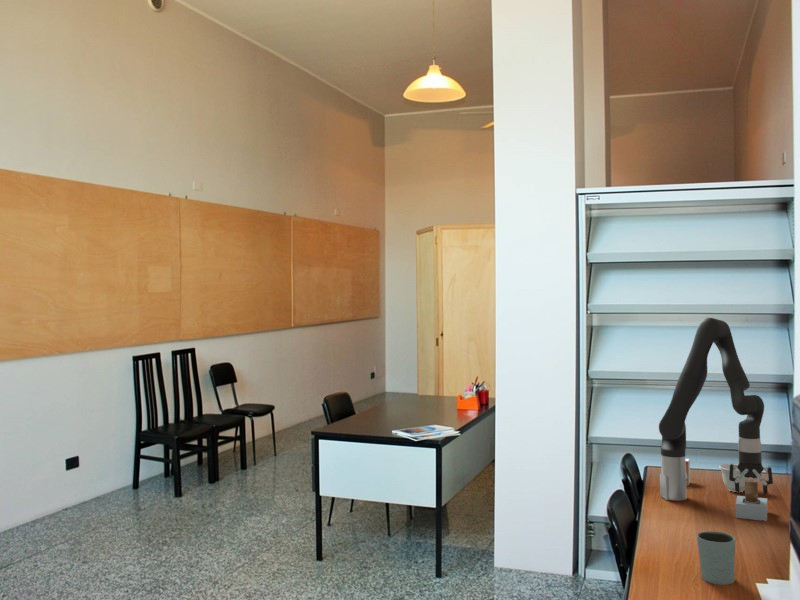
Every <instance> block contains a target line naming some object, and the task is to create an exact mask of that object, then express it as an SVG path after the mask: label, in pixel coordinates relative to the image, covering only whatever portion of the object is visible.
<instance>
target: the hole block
mask: <svg viewBox="0 0 800 600" xmlns="http://www.w3.org/2000/svg"><path fill="white" fill-rule="evenodd" d="M768 506H769V505H768V497H767V498H766V497H758V504H755V503H745V495H737V496H736V499H735V518H736V519H744V520H755V521H762V520H764V521H763V522H767V521H768V515H767V514H768V513H769V512H768V511H769V510H768Z"/></svg>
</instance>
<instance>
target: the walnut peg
mask: <svg viewBox="0 0 800 600" xmlns="http://www.w3.org/2000/svg"><path fill="white" fill-rule="evenodd" d="M758 488H759V484H758V482H757V481H756V480H753V481H749V480H748V481H745V488H744V496H745V503H755V504H758V498H759V489H758Z"/></svg>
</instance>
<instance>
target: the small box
mask: <svg viewBox="0 0 800 600" xmlns="http://www.w3.org/2000/svg"><path fill="white" fill-rule="evenodd" d="M685 459H686V486H688V485H689V486H690V484H691V469H690V467H691V465H690V463H691V462H690V461H691V459H690V458H685Z"/></svg>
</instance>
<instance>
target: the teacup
mask: <svg viewBox="0 0 800 600" xmlns="http://www.w3.org/2000/svg"><path fill="white" fill-rule="evenodd" d="M730 464H731V463H722V464H720V465H719V466H718V467H719V469H720V470H721V474H722V480H723V485H724V486H725V487H726V488H728V490H729V491H728V492H730V491H732V492H731V493H734V492H737V491H735V482H733V481H730V480H729V471H730ZM733 464H734V465H738V464H739V463H733ZM740 473H741V472H740V471H739V469H738V468H736V470H735V471H733V477H734V478H736V477H737V476H738V475H739V474H740ZM756 480H759V479H758V477H757V478H750V477H749V478H746V477H745V476H743V478H742V479H741V480H740V481H739V490H740V492H742V493H744V492H743V491H744V490H745V481H756Z"/></svg>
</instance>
